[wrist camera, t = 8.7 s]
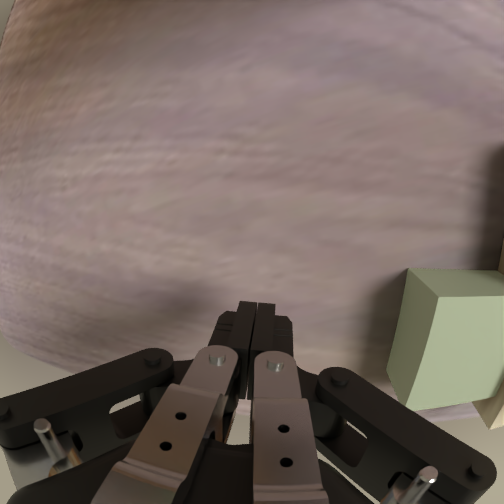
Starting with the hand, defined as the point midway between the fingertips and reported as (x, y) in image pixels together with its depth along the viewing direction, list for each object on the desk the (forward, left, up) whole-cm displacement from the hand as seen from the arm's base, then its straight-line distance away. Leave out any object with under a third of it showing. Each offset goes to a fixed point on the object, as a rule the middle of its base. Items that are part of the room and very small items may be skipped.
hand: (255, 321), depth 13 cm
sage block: (+3, +13, -7) cm, 15 cm away
